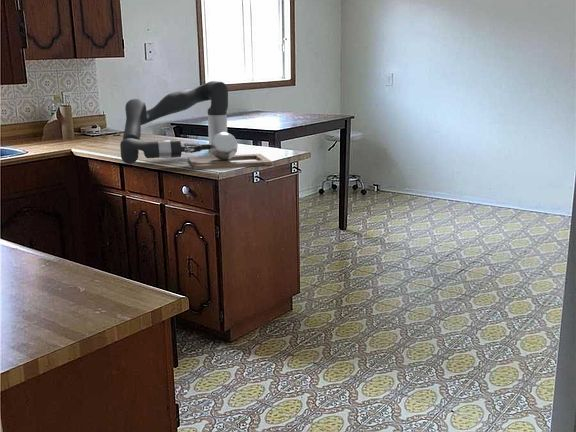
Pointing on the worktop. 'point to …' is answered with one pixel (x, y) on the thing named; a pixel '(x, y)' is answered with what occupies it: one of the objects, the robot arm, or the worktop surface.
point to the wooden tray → (214, 162)
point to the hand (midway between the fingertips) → (209, 146)
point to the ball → (223, 146)
